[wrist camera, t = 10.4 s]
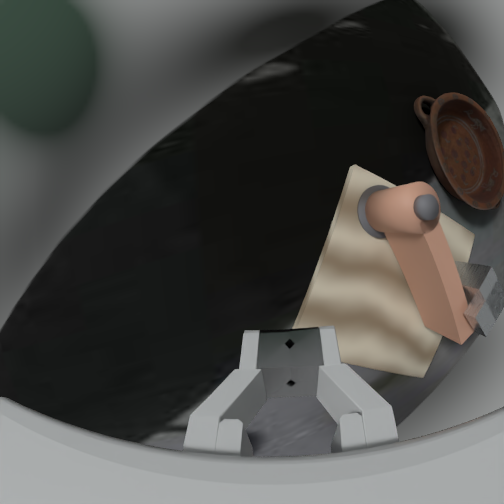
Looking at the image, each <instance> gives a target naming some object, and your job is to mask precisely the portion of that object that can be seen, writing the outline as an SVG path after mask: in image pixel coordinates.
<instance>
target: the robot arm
mask: <svg viewBox="0 0 504 504" xmlns="http://www.w3.org/2000/svg"><path fill="white" fill-rule="evenodd" d="M305 396H317V398H318V400H319V401H320V402H321V404H322V405H323V406H324V407H325V409H326V410H327V411H328V413H329V414H330V415H331V416H332V418H333V419H334V420H335V421H336V423H337V424H338V425H337V429H336V432H335V435H334V438H333V441H332V444H331V453H328V454H317V455H303V456H278V457H254V456H253V448H252V446H251V443H250V441H249V438H248V435H247V433H246V428H247V427H248V426H249V424H250V423H251V421H252V420H253V419H254V417H255V416H256V415H257V413H258V412H259V410H260V409H261V408H262V406H263V405H264V403H265V402H266V400H267V398H283V397H305ZM0 504H504V407H502V408H500V409H498V410H495V411H493V412H491V413H488V414H486V415H484V416H481V417H479V418H476V419H474V420H471V421H468V422H466V423H463V424H460V425H457V426H454V427H451V428H449V429H445V430H442V431H439V432H435V433H432V434H428V435H425V436H421V437H418V438H414V439H410V440H405V441H401V442H399V439H398V434H397V429H396V424H395V419H394V415H393V410H392V406H391V405H390V404H389V403H388V402H387V401H385V400H384V399H383V398H382V397H381V396H380V395H379V394H378V393H377V392H376V391H375V390H374V389H373V388H372V387H370V386H369V385H368V384H367V383H366V382H365V381H364V380H363V379H362V378H361V377H360V376H359V375H358V374H357V373H356V372H354V371H353V370H352V369H351V368H350V367H349V366H348V365H347V364H346V363H344V364H341V358H340V352H339V347H338V341H337V336H336V331H335V327H334V326H322V327H309V328H296V329H285V330H249V331H245V332H244V334H243V342H242V350H241V359H240V367H239V369H235V370H234V371H233V372H232V373H231V374H230V375H229V376H228V377H227V378H226V379H225V380H224V381H223V382H222V383H221V385H220V386H219V387H218V388H217V389H216V390H215V391H214V392H213V393H212V394H211V395H210V396H209V397H208V398H207V399H206V400H205V401H204V402H203V403H202V404H201V405H200V406H199V407H198V408H197V409H196V410H195V411H194V412H193V413H192V414H191V415H190V419H189V423H188V428H187V432H186V437H185V442H184V446H183V451H179V450H172V449H166V448H160V447H155V446H149V445H144V444H139V443H135V442H130V441H126V440H122V439H118V438H114V437H110V436H106V435H103V434H99V433H96V432H92V431H89V430H86V429H82V428H79V427H76V426H73V425H70V424H68V423H65V422H62V421H59V420H56V419H54V418H51V417H49V416H46V415H44V414H41V413H39V412H36V411H34V410H32V409H29V408H27V407H25V406H23V405H20V404H18V403H16V402H14V401H12V400H10V399H8V398H5V397H0Z"/></svg>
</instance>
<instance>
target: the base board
mask: <svg viewBox="0 0 504 504" xmlns="http://www.w3.org/2000/svg"><path fill="white" fill-rule="evenodd" d="M392 187H397V186H395V185H393V184H391V183H390V182H388V181H386V180H384V179H382V178H380V177H378V176H376V175H374V174H373V173H371V172H369V171H367V170H365V169H363V168H361V167H359V166H357V165H353V166H351V167H350V168H349V172H348V175H347V178H346V182H345V185H344V188H343V191H342V194H341V197H340V200H339V203H338V207H337V210H336V213H335V216H334V219H333V222H332V225H331V227H330V230H329V233H328V236H327V239H326V242H325V245H324V247H323V250H322V253H321V256H320V259H319V261H318V264H317V267H316V270H315V272H314V275H313V278H312V280H311V283H310V286H309V288H308V291H307V293H306V296H305V298H304V301H303V304H302V306H301V309H300V311H299V314H298V316H297V319H296V321H295V324H294V326H293V328H292V329H296V328H309V327H322V326H334V327H335V331H336V336H337V341H338V347H339V352H340V358H341V362H344V363H349V364H353V365H357V366H362V367H367V368H372V369H376V370H381V371H387V372H392V373H397V374H403V375H408V376H414V377H420V378H423V377H424V375H425V373H426V371H427V369H428V367H429V365H430V363H431V361H432V359H433V357H434V354H435V352H436V350H437V348H438V346H439V343H440V341H441V339H442V336H443V335H441V334H439V333H437V332H435V331H433V330H431V329H429V328H427V327H425V326H424V323H423V321H422V318H421V315H420V313H419V310H418V308H417V305H416V303H415V300H414V298H413V295H412V293H411V290H410V288H409V286H408V283H407V281H406V279H405V276H404V274H403V272H402V270H401V267H400V265H399V263H398V261H397V259H396V256H395V254H394V252H393V250H392V248H391V246H390V244H389V242H388V240H387V238H386V236H385V234H384V232H379V231H376V230H375V229H373V228H372V227H371V226H370V224H369V223H368V221H367V218H366V215H365V206H366V202H367V200H368V198H369V196H370V195H371V194H372V193H374V192H376V191H379V190H384V189H388V188H392ZM439 222H440V225H441V227H442V230H443V232H444V235H445V237H446V240H447V242H448V245H449V248H450V250H451V253H452V256H453V259H454V261H460V262H466V263H468V260H469V257H470V253H471V249H472V245H473V241H474V236H475V235H474V234H473V233H471V232H470V231H469V230H467V229H466V228H464V227H463V226H461V225H460V224H458V223H457V222H455V221H454V220H452V219H451V218H449V217H447V216H446V215H444V214H443V213H440V219H439Z"/></svg>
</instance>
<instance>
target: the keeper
mask: <svg viewBox="0 0 504 504" xmlns="http://www.w3.org/2000/svg"><path fill="white" fill-rule="evenodd" d="M454 262H455V265H456V268H457V271H458V274H459V277H460V280H461V283H462V287H463V290H464V293H465V297H466V300H467V304H468V307H467V308H466V310H465V312H464V315H465V317H466V318H467V320H468V321H469V323H470V325H471V326H472V328H473V329H474V331H475V332H476V333H478V334H480V335H483V336H485V337H486V336H487V335H488V333H489V332H490V330H491V328H492V327H493V325H494V323H495V322H496V320H497V318H498V316H499V315H500V313H501V311H502V309H503V307H504V291H503V289H502V287H501V285H500V283H499V281H498V279H497V276H496V274H495V272H494V270H493V269H492V267H491V266H485V265H479V264H472V263H466V262H460V261H454Z"/></svg>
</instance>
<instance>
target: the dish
mask: <svg viewBox="0 0 504 504" xmlns="http://www.w3.org/2000/svg"><path fill="white" fill-rule="evenodd" d="M422 103H425V104H427V105H428V106H429V107H430V110H431V113H430V115H426V114H425V113H424V112H423V110H422V107H421V105H422ZM414 111H415V114H416V116H417V117H418V119H419V120H420V122H421V123H422V125H423V127H424V129H425V138H426V150H427V154H428V157H429V160H430V163H431V166H432V168H433V170H434V172H435V174H436V176H437V178H438V179H439V181H440V182H441V184H442V185H443V186H444V187H445V189H446V190H447V191H448V192H449V193H450V194H451V195H453V196H454V197H456V198H457V199H459V200H461V201H464V202H466V203H467V204H469V205H470V206H472V207H474V208H476V209H479V210H489V209H496V208H498V207H499V205H500V200H501V198H502V196H503V194H504V149H503V145H502V142H501V139H500V137H499V134H498V132H497V130H496V128H495V126H494V124H493V122H492V121H491V119H490V117H489V116H488V115H487V113H486V112H485V111H484V110H483V109H482V108H481V107H480V106H479V105H478V104H477V103H476V102H475V101H473V100H472V99H470V98H468V97H467V96H464V95H462V94H459V93H446V94H443V95H441V96H440V97H438V98H437V99H433V98H431V97H428V96H420V97H419V98H417V99H416V100H415V102H414Z"/></svg>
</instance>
